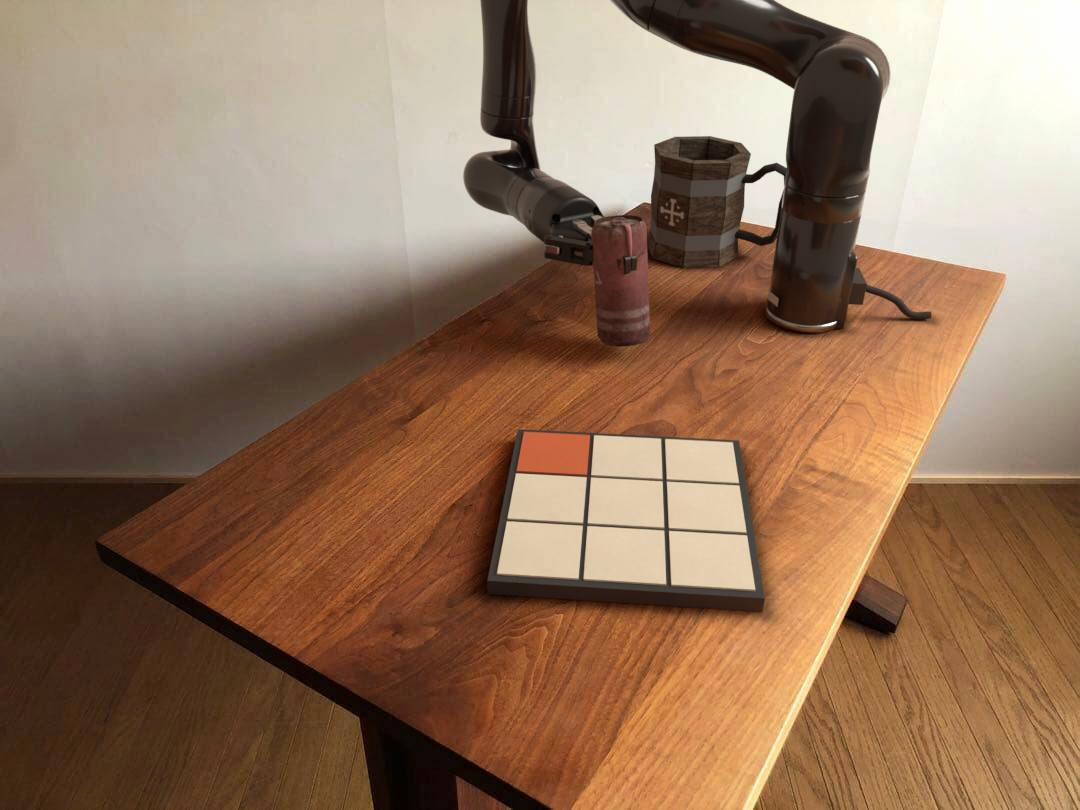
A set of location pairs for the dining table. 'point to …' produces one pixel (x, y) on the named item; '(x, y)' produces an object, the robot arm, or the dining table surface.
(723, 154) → the mug
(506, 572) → the board
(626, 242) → the can
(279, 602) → the dining table surface
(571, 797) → the dining table surface
